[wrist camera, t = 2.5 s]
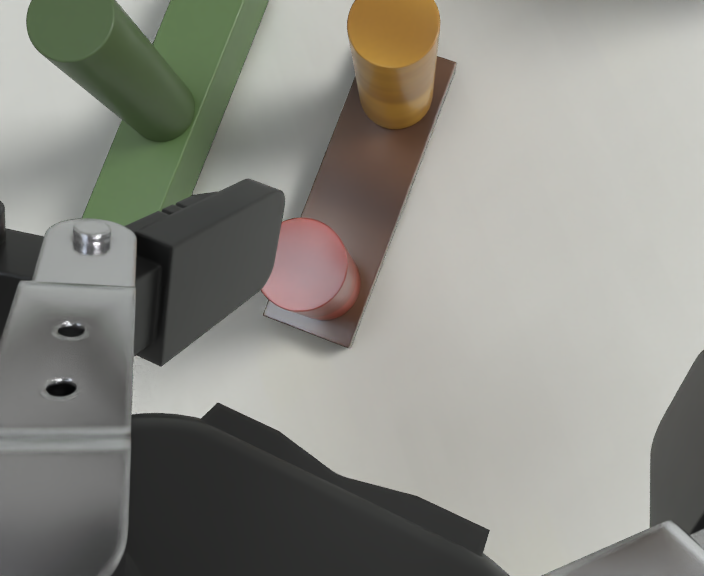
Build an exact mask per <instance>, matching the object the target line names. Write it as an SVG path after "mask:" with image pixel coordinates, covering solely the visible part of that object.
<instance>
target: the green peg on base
mask: <svg viewBox="0 0 704 576" xmlns="http://www.w3.org/2000/svg"><path fill="white" fill-rule="evenodd" d="M267 4H268V0H171V1H170V3H169V6H168V8H167V11H166V13H165V15H164V18H163V20H162V23H161V25H160V28H159V30H158V33H157V35H156V38H155V40H154V42H153V45H152V44H151V42H150V41H149V40H148V39H147V38H146V36H145V35H144V34H143V33H142V32H141V30H140V29H139V28H138V27H137V26H136V24H135V23H134V22H133V21H132V20H131V18H130V17H129V16H128V15H127V14H126V12H125V11H124V10H123V9H122V8H121V6H120V5H119V4H118V3H117V1H116V0H32V1H31V3H30V5H29V8H28V12H27V19H26V24H27V31H28V35H29V38H30V40H31V42H32V44H33V45H34V47H35V48H36V49H37V50H38V51H39V52H40V53H41V54H42V55H43V56H44V57H46V58H47V59H48V60H49V61H51V62H52V63H53V64H54V65H56V66H57V67H58V68H59V69H60V70H62V71H63V72H64V73H65V74H67V75H68V76H69V77H70V78H72V79H73V80H74V81H75V82H76V83H78V84H79V85H80V86H81V87H83V88H84V89H85V90H86V91H88V92H89V93H90V94H91V95H92V96H94V97H95V98H96V99H97V100H99V101H100V102H101V103H102V104H103V105H105V106H106V107H107V108H108V109H110V110H111V111H112V112H113V113H115V114H116V115H117V116H118V117H119V118H121V119H122V121H121V123H120V126H119V128H118V131H117V133H116V136H115V138H114V141H113V143H112V145H111V148H110V150H109V153H108V155H107V158H106V160H105V163H104V165H103V167H102V170H101V172H100V175H99V177H98V180H97V182H96V185H95V187H94V190H93V192H92V194H91V197H90V199H89V202H88V204H87V207H86V209H85V212H84V214H83V217H82V218H90V219H101V220H107V221H111V222H115V223H118V224H120V225H123V226H126V225H128V224H130V223H132V222H135V221H137V220H139V219H141V218H143V217H146V216H148V215H150V214H152V213H155V212H157V211H162V209H163V208H166V207H168V206H170V205H172V204H173V205H176V203H177V202H179V201H181V200H183V199H186V198H188V197H190V196H191V195H192V192H193V190H194V187H195V185H196V182H197V180H198V177H199V175H200V172H201V170H202V167H203V165H204V162H205V160H206V157H207V155H208V152H209V150H210V147H211V145H212V142H213V140H214V137H215V135H216V132H217V130H218V127H219V124H220V122H221V119H222V117H223V114H224V112H225V109H226V107H227V104H228V102H229V99H230V97H231V94H232V92H233V89H234V87H235V84H236V82H237V79H238V77H239V74H240V72H241V69H242V67H243V64H244V62H245V59H246V57H247V54H248V52H249V49H250V47H251V44H252V42H253V39H254V37H255V34H256V32H257V29H258V27H259V24H260V22H261V19H262V17H263V14H264V12H265V9H266V7H267Z"/></svg>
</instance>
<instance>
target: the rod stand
mask: <svg viewBox="0 0 704 576" xmlns="http://www.w3.org/2000/svg"><path fill="white" fill-rule="evenodd" d="M347 31H348V37H349V43H350V48H351V54H352V59H353V64H354V70H355V75H356V76H355V78H354V81H353V83H352V86H351V89H350V91H349V94H348V96H347V99H346V102H345V104H344V107H343V109H342V112H341V114H340V117H339V120H338V122H337V125H336V127H335V130H334V132H333V135H332V138H331V140H330V143H329V145H328V148H327V151H326V153H325V156H324V158H323V161H322V163H321V166H320V169H319V171H318V174H317V176H316V179H315V181H314V184H313V187H312V189H311V192H310V194H309V197H308V200H307V202H306V205H305V207H304V210H303V212H302V215H301V218H292V219H288V220H285V221H283V222H282V223H281V229H280V234H279V240H278V246H277V251H276V257H275V262H274V266H273V270H272V272H271V275H270V277H269V279H268V281H267V282H266V284H265V285H264V287H263V288H262V289H261V291H262V293H263V294H264V295H265V297H266V298H267V299H268V303H267V305H266V308H265V310H264V313H263V316H266V317H268V318H271V319H274V320H276V321H279V322H281V323H284V324H287V325H289V326H292V327H294V328H297V329H300V330H302V331H305V332H308V333H310V334H313V335H315V336H318V337H321V338H323V339H326V340H328V341H331V342H334V343H336V344H339V345H341V346H344V347H347V348H351V346H352V343H353V340H354V338H355V335H356V332H357V330H358V327H359V325H360V322H361V319H362V317H363V314H364V311H365V309H366V306H367V303H368V301H369V298H370V295H371V293H372V290H373V288H374V285H375V282H376V280H377V277H378V274H379V272H380V269H381V266H382V264H383V261H384V258H385V256H386V253H387V251H388V248H389V245H390V243H391V240H392V237H393V235H394V232H395V229H396V227H397V224H398V221H399V219H400V216H401V214H402V211H403V208H404V206H405V203H406V200H407V198H408V195H409V192H410V190H411V187H412V185H413V182H414V179H415V177H416V174H417V171H418V169H419V166H420V163H421V161H422V158H423V155H424V153H425V150H426V148H427V145H428V142H429V140H430V137H431V134H432V132H433V129H434V126H435V124H436V121H437V118H438V116H439V113H440V111H441V108H442V105H443V103H444V100H445V97H446V95H447V92H448V89H449V87H450V84H451V81H452V79H453V76H454V74H455V69H456V62H453V61H450V60H447V59H444V58H441V57H438V56H437V51H438V42H439V33H440V15H439V11H438V8H437V5H436V3H435V1H434V0H355V2H354V3H353V5H352V7H351V9H350V12H349V15H348V20H347Z"/></svg>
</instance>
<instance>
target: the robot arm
mask: <svg viewBox="0 0 704 576" xmlns="http://www.w3.org/2000/svg"><path fill="white" fill-rule="evenodd" d="M284 206H285V196H284V193H283V192H282V191H281V190H278V189H276V188H273V187H270V186H268V185H265V184H262V183H259V182H257V181H254V180H251V179H245V180H242V181H240V182H238V183H236V184H234V185H232V186H230V187H228V188H225V189H223V190H221V191H219V192H211V193H204V194H197V195H192V196H190V197H188V198H186V199H183V200H181V201H179V202H177V203H176V205H173V204H172V205H170V206H168V207H166V208H163V209H162V211H157V212H155V213H152V214H150V215H148V216H146V217H143V218H141V219H139V220H137V221H135V222H132V223H130V224H128V225H126V226H123V225H120V224H118V223H115V222H111V221H107V220H101V219H90V218H82V219H71V220H66V221H62V222H59V223H57V224H54V225H53V226H51V227H50V228H49V229H48V230H47V231H46V233H45V236H44V237H43V236H39V235H34V234H29V233H25V232H20V231H15V230H10V229H6V228H5V207H4V205H3V203H2V202H1V201H0V576H509V575H508V574H507V573H506V572H505V571H504V570H503V569H502V568H501V567H499V566H498V565H497V564H496V563H495V562H494V561H493V560H491V559H490V558H489V557H487V556H486V555H485V554H483V551H484V547H485V544H486V541H487V537H488V534H489V531H490V530H488V529H486V528H484V527H482V526H480V525H477V524H475V523H473V522H471V521H469V520H467V519H465V518H463V517H460V516H458V515H456V514H454V513H452V512H450V511H448V510H446V509H443V508H441V507H439V506H437V505H435V504H433V503H431V502H429V501H426V500H424V499H422V498H420V497H418V496H415V495H411V494H407V493H403V492H399V491H395V490H392V489H388V488H384V487H380V486H376V485H373V484H369V483H365V482H361V481H357V480H354V479H350V478H346V477H343V476H340V475H338V474H336V473H335V472H333V471H332V470H330V469H329V468H328V467H326V466H325V465H324V464H322V463H321V462H320V461H318V460H317V459H316V458H314V457H313V456H312V455H310V454H309V453H308V452H306V451H305V450H303V449H302V448H301V447H299V446H298V445H297V444H295V443H294V442H293V441H291V440H290V439H289V438H287V437H286V436H285V435H283V434H282V433H281V432H279V431H277V430H275V429H273V428H271V427H269V426H267V425H265V424H262V423H260V422H258V421H256V420H254V419H252V418H250V417H248V416H245V415H243V414H241V413H239V412H237V411H235V410H233V409H231V408H228V407H226V406H224V405H222V404H220V403H217V404H216V405H215V406H214V407H213V408H212V409H211V410H210V411H209V412H207V413H206V414H205V415H204V416H203V417H202V418H201V419H200V418H196V417H191V416H184V415H178V414H165V413H143V414H132V415H131V411H132V384H133V358H134V356H135V355H137V356H140V357H142V358H144V359H146V360H148V361H150V362H152V363H155V364H157V365H159V366H163V365H164V364H165V363H167V362H168V361H169V360H170V359H172V358H173V357H174V356H176V355H177V354H178V353H180V352H181V351H182V350H183V349H185V348H186V347H187V346H189V345H190V344H191V343H193V342H194V341H195V340H196V339H198V338H199V337H200V336H202V335H203V334H204V333H206V332H207V331H208V330H209V329H211V328H212V327H213V326H215V325H216V324H217V323H219V322H220V321H221V320H222V319H224V318H225V317H226V316H228V315H229V314H230V313H232V312H233V311H234V310H235V309H237V308H238V307H239V306H241V305H242V304H243V303H245V302H246V301H247V300H248V299H250V298H251V297H252V296H254V295H255V294H256V293H258V292H259V291H260V290H261V289H262V288H263V287H264V285H265V284H266V282H267V281H268V279H269V277H270V275H271V272H272V270H273V266H274V262H275V257H276V251H277V246H278V240H279V234H280V229H281V223H282V218H283V212H284ZM542 576H704V350H703V351H702V352H701V353H700V354H699V355H698V357H697V358H696V360H695V361H694V363H693V365H692V367H691V368H690V370H689V372H688V374H687V375H686V377H685V379H684V381H683V382H682V384H681V386H680V388H679V390H678V391H677V393H676V395H675V397H674V398H673V400H672V402H671V404H670V406H669V407H668V409H667V411H666V413H665V414H664V416H663V418H662V420H661V422H660V424H659V426H658V428H657V431H656V433H655V436H654V439H653V443H652V447H651V459H650V528H649V529H647V530H644V531H642V532H640V533H637V534H635V535H633V536H631V537H628V538H626V539H624V540H622V541H619V542H617V543H615V544H612V545H610V546H608V547H606V548H603V549H601V550H599V551H596V552H594V553H592V554H590V555H587V556H585V557H583V558H580V559H578V560H576V561H574V562H571V563H569V564H567V565H565V566H562V567H560V568H558V569H555V570H553V571H551V572H549V573H546V574H544V575H542Z"/></svg>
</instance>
